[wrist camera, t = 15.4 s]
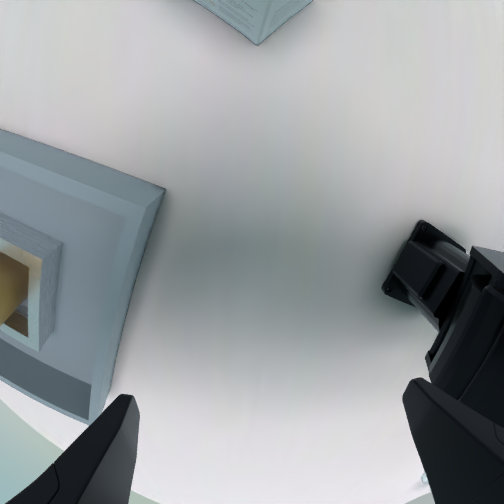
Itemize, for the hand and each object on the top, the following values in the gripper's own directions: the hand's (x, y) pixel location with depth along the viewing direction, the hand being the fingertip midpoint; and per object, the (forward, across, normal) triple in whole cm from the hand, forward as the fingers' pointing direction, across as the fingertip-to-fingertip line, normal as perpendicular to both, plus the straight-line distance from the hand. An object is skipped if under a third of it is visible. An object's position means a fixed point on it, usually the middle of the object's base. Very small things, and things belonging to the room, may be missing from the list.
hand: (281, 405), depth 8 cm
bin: (+13, +18, +2) cm, 23 cm away
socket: (+13, +18, +2) cm, 23 cm away
